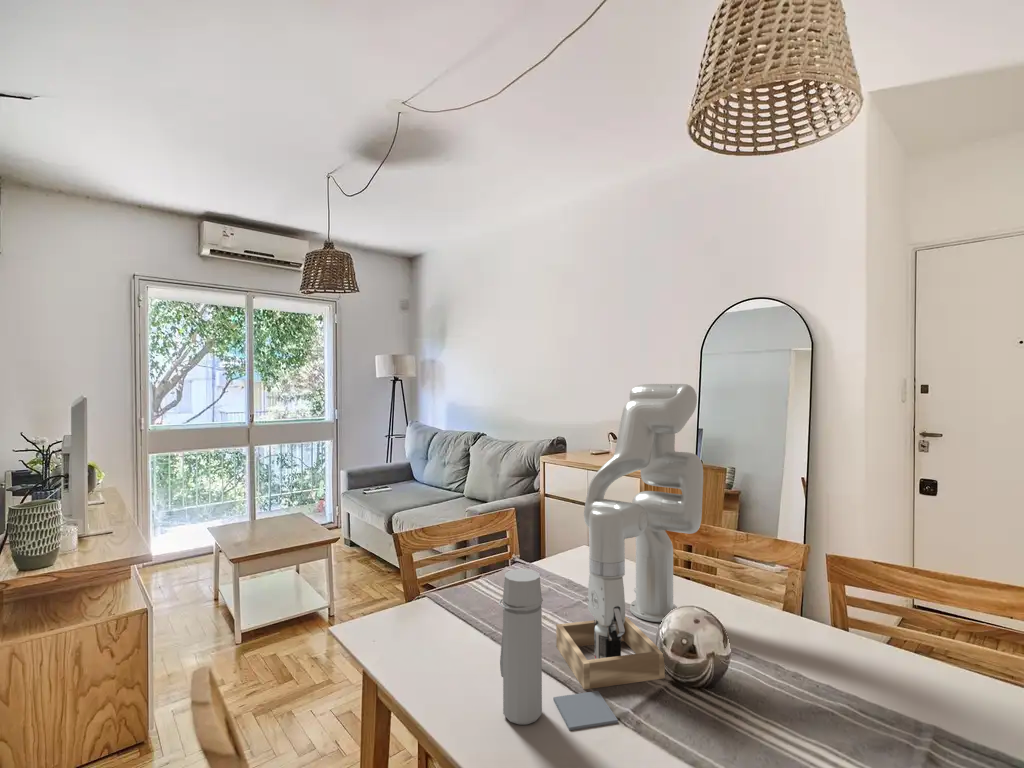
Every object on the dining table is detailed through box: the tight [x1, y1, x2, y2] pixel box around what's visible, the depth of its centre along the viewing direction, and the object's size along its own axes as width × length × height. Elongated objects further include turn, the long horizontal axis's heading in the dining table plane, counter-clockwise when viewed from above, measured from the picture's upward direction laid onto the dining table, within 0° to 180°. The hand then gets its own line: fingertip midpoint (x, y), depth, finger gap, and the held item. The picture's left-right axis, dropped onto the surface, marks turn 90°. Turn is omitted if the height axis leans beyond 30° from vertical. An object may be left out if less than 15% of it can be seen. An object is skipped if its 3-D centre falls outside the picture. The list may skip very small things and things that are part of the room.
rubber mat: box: [553, 690, 619, 731], centre depth 94 cm, size 9×9×1 cm
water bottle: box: [498, 568, 544, 725], centre depth 94 cm, size 9×8×25 cm
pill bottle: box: [594, 621, 616, 659], centre depth 111 cm, size 5×5×10 cm
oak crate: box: [555, 616, 666, 690], centre depth 111 cm, size 17×17×5 cm
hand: (607, 649), depth 111 cm, fingers closed on pill bottle, 5 cm apart
